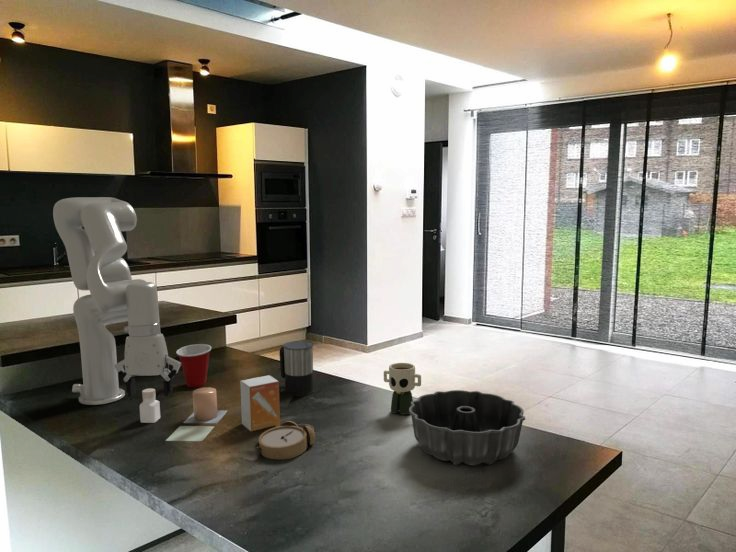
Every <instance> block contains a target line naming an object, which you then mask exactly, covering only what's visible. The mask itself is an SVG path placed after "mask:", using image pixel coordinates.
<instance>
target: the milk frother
mask: <svg viewBox="0 0 736 552" xmlns="http://www.w3.org/2000/svg"><path fill="white" fill-rule="evenodd" d="M313 351H314V343H312V342H310V341H305V340H293V341H289V342H288V341H287V342H285V343H284V344H283V345H282V346H281V347H280V348H279V354H278V355H279V365H280V366H279V367H280V368H279V369H280V376H281V378H282V379H284V387H283V386H281V385H279V393H281V389H283V390H284V393H293V394H292V396H294V397H302V396H308V395H312V394H313V393H314V392H315V388H314V352H313Z"/></svg>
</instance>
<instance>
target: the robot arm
mask: <svg viewBox="0 0 736 552" xmlns="http://www.w3.org/2000/svg"><path fill="white" fill-rule="evenodd" d="M52 210H53V211H52V215H53V217H52V218H53V222H54V226H55V229H56V231H57V233H58V235H59V237H60V239H61V241H62V243H63V245H64V247H65V251H66V255H67V259H68V264H69V270H70V274H71V278H72V282H73V285H74V287H75V288H76V289H77V290H79V291H89V293H90V294H86V295H83V296H81V297H80V296H79V298H77V299H76V300H75V301H74V304H73V308H72V311H73V314H74V319H75V323H76V326H77V327H76V328H77V332H78V337H79V338H78V339H79V347H80V349H79V350H80V358H81V361H80V362H81V370H82V371H81V372H82V382H83V384H81V383H74V384H73V385H72V389H71V392H72V393H79V397H78V402H79V403H80V404H82V405H86V406H97V405H105V404H110V403H113V402H117V401H119V400H121V399H122V398H124V397H125V395H126V393H127V397H129V398H130V397H133V396H134V395H135V394H137V387H136V386H137V384H136V379H135V378H134V377H137V376H138V377H139V376H159V375H160V376H161V377H162V378H163V379H164V380H163V393H164V397H169V396H170V395H171V394H172V393H173V390H174V385H173V378H174V377H175V376H176V375H177V373H179V370H180V368H181V367H182V364H181V361H180V360H176V359H175V358H172V357H170V356H169V352H168V348H167V342H166V339H165V336H164V334H163V333H161V322H160V310H159V308H160V307H159V297H158V287H157V284H156V283H154V282H152V281H146V280H144V279H140V278H139V279H138V278H137V279H133V278H132V273H131V269H130V267H129V265H128V263H127V261H126V260H125V259H124V258H123V257H124V255H125V254H126V253H127V251H128V245H127V242H126V240H125V238H124V236H123V233H122V232H131V231H133V230H134V229H135V228H136V226H137V221H138V217H137V214H136V211H135V209H134V207H133V206H132V205H131V204H130V203H129V202H127V201H124V200H121V199H118V198H116V197H110V196H109V197H104V196H102V197H101V196H100V197H98V196H97V197H94V196H93V197H85V196H83V197H79V196H78V197H77V196H76V197H68V198H62V199H60V200H58V201H57V202H55V204H54V206H53V209H52ZM124 322H127V326H124V327H123V331H124V332H127V333H128V335H129V336H126V338H125V345H124V359H122V360H121V361H119V362H118V360H117V359H118V358H117V346H116V345H117V344H116V338H115V336H114V334H113V333H111V332H110V331H109V330H108V329H107V327H106V326H108V325H112V324H113V325H114V324H118V323H124ZM170 365H171V366H172V370H170V369H169V368H170ZM119 376H120V377H121V378H122V379H123V380H122V381H123V382H125V389H126V391H125V390H124V389H123V388H120V387H119V386H120V385H119V384H120V383H119Z"/></svg>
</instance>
